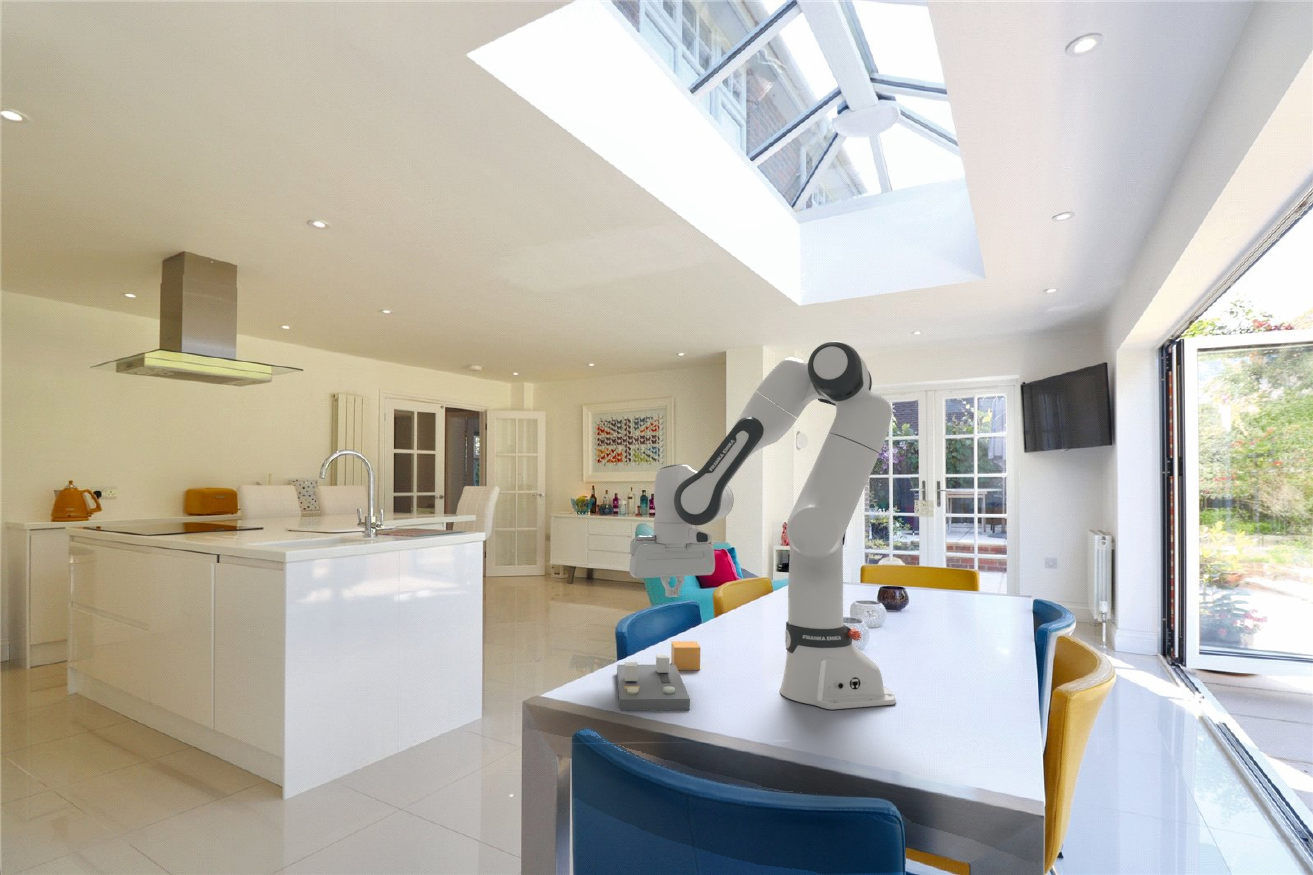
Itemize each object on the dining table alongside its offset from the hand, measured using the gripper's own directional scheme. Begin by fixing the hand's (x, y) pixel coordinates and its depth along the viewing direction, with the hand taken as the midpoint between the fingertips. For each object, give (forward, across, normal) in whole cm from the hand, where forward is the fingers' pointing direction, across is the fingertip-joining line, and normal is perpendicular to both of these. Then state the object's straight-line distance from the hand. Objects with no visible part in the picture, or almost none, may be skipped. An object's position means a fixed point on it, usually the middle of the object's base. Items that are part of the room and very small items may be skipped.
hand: (672, 596), depth 148 cm
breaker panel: (+17, -10, -11) cm, 22 cm away
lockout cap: (+17, +5, +3) cm, 18 cm away
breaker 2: (+14, -5, -6) cm, 17 cm away
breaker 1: (+14, -14, -10) cm, 22 cm away
